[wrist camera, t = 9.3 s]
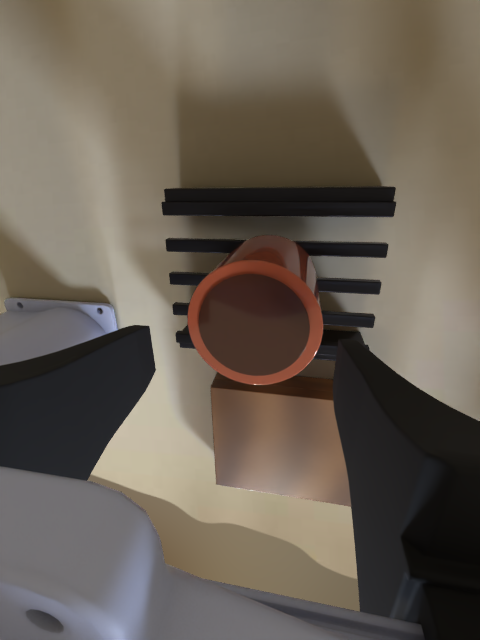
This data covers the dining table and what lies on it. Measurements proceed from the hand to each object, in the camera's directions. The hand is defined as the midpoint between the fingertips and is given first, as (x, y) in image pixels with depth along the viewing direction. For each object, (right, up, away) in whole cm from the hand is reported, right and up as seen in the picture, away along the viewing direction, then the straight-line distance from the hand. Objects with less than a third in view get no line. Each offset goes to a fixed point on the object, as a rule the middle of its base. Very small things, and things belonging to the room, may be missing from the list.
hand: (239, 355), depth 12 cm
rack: (+2, +5, +9) cm, 10 cm away
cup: (+2, +3, +6) cm, 7 cm away
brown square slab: (+4, -7, +13) cm, 16 cm away
